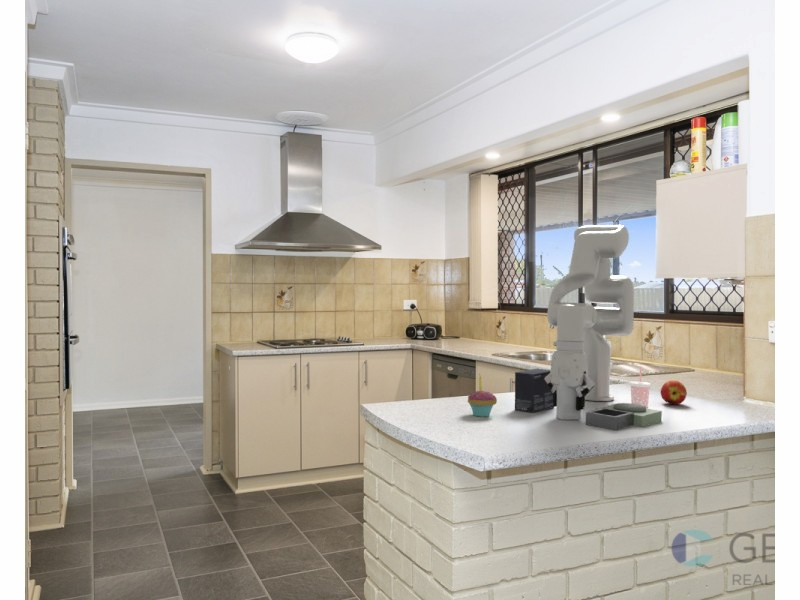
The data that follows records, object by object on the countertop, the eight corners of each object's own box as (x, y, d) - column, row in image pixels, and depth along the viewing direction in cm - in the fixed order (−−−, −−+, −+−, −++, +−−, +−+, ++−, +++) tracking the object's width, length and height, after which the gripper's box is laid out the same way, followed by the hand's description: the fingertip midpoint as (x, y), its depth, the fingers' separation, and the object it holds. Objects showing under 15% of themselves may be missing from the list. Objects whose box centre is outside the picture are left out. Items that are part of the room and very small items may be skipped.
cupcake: (462, 413, 190) (463, 372, 190) (487, 411, 193) (488, 372, 193) (475, 418, 182) (476, 377, 182) (501, 417, 185) (502, 376, 185)
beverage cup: (646, 414, 194) (648, 368, 194) (626, 411, 198) (627, 366, 198) (652, 411, 199) (653, 366, 199) (632, 408, 203) (633, 365, 202)
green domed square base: (596, 418, 186) (596, 404, 186) (616, 413, 194) (616, 400, 194) (642, 426, 176) (642, 412, 176) (661, 421, 184) (661, 407, 184)
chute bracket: (585, 424, 178) (586, 412, 177) (603, 419, 184) (604, 407, 184) (615, 430, 171) (616, 417, 171) (633, 425, 178) (633, 412, 178)
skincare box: (575, 417, 188) (576, 376, 187) (581, 420, 183) (582, 378, 183) (555, 417, 187) (556, 375, 187) (560, 420, 183) (561, 378, 182)
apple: (661, 405, 210) (662, 381, 210) (659, 401, 218) (659, 378, 218) (687, 407, 208) (688, 382, 208) (684, 403, 216) (685, 379, 216)
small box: (536, 404, 207) (537, 368, 206) (555, 408, 202) (556, 370, 202) (513, 410, 197) (514, 371, 197) (532, 413, 192) (533, 373, 192)
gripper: (537, 344, 188) (535, 405, 189) (590, 350, 176) (588, 414, 176) (551, 343, 193) (549, 402, 194) (604, 348, 181) (602, 411, 181)
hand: (568, 407), depth 185 cm, fingers closed on skincare box, 6 cm apart
